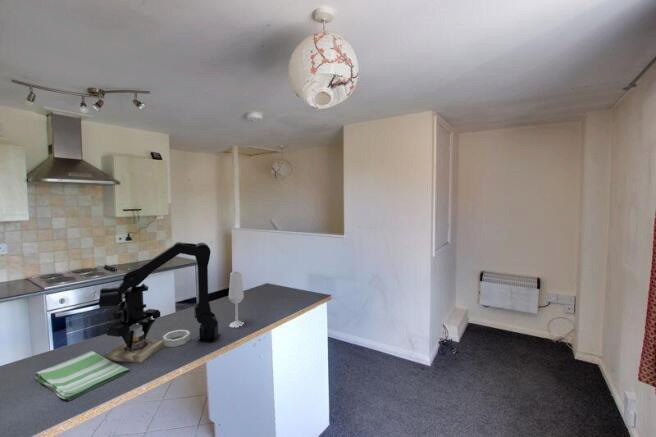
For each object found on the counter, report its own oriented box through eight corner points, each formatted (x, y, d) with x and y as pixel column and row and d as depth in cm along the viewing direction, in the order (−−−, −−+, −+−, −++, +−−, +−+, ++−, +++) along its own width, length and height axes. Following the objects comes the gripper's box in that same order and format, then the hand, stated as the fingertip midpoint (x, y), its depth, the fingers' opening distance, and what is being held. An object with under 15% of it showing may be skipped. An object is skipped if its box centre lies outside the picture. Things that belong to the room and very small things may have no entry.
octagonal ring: (194, 336, 129) (194, 330, 129) (180, 347, 120) (180, 341, 120) (173, 334, 131) (173, 329, 130) (158, 345, 121) (157, 339, 121)
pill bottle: (132, 358, 112) (131, 331, 111) (123, 354, 115) (122, 328, 114) (148, 351, 117) (146, 325, 116) (139, 347, 120) (138, 322, 119)
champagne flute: (241, 320, 146) (240, 270, 144) (246, 325, 141) (245, 273, 139) (227, 323, 142) (226, 272, 141) (231, 328, 137) (230, 275, 135)
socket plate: (164, 346, 121) (163, 340, 120) (141, 362, 109) (141, 356, 109) (131, 343, 123) (131, 337, 122) (106, 359, 111) (105, 353, 111)
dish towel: (65, 404, 88) (65, 395, 87) (31, 380, 99) (31, 372, 99) (130, 373, 103) (130, 365, 103) (95, 355, 114) (94, 348, 114)
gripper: (137, 293, 125) (139, 331, 126) (92, 310, 107) (95, 353, 108) (160, 296, 123) (162, 333, 124) (118, 313, 104) (121, 357, 106)
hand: (136, 343), depth 115 cm, fingers closed on pill bottle, 6 cm apart
